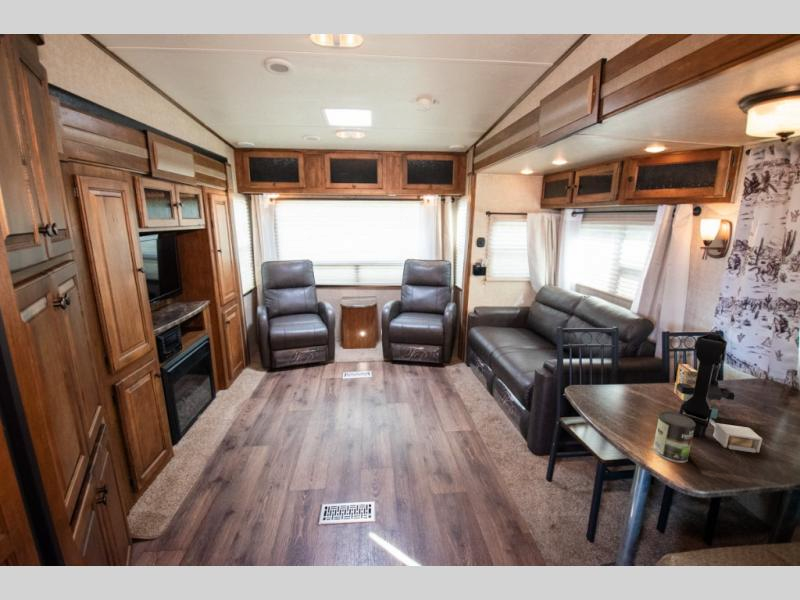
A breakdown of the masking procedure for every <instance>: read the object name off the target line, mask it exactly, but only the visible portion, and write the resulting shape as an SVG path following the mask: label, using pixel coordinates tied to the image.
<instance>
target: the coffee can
mask: <svg viewBox="0 0 800 600" xmlns="http://www.w3.org/2000/svg"><path fill="white" fill-rule="evenodd" d="M695 426H696V424H695V422H694V421H693V420H692V419H690V418H688V417H686V416H684V415H681V414H679V413H678V412H674V411H665V410H664V411H659V413H658V420H657V425H656V430H655V434H654V440H653V441H654V442H653V446H652V450H653V452H654V453H655V454H657V455H658V456H659V457H660V458H662V459H665V460H667V461H670V462H672V463H679V464H681V463H682V464H683V463H684V464H685V463H686V462H687V463H688V460H689V454H690V449H691V446H692V441H693V438H694V437H693V433H694V428H695Z"/></svg>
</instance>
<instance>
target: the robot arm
mask: <svg viewBox="0 0 800 600" xmlns="http://www.w3.org/2000/svg"><path fill="white" fill-rule="evenodd" d="M727 346H728V341H726V339H724V335H721V334H717V333H711V332H708V333H707V332H706V333H705V334H704V335H699V336H697V339H696V341H695V344H694V348H693V349H694V350H695V357H696V359H697V360H698V362H699V364H698V369H697V371H698V372H697V377H696V383H695V387H691V386H690V385H689V384H684V383H678V384H677V386H676V388H677V389H678V390H679V391H680V392H681V393H682V394H688V395H690V396H689V397H688V399H687V401H683V403H682V404H681V406H680V409H679V413H678V414H681V415H684V416H686V417H688V418H690V419H692V420H693V421H694V422H695V424H696V426H695V428H694V433H693V437H692V438H701V437H703V438H704V437H706V433H707V429H708V428H709V425H710V418H711V413H712V409H710V408H712V407H711V405H712V402H711V401H713V400H715V401H716V400H717V401H721V400H722V399H723V398H724V399H726V400H731V401H734V400H735V399H736V394H735V393H734V392H733V391H732V390H730V389H729V388H727V387H720V386H719V381H718V376H719V371H720V369H721V365H724V363H725V359H726V355H727V354H726V350H727ZM707 418H708V420H707ZM711 419H712V418H711Z"/></svg>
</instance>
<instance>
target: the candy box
mask: <svg viewBox="0 0 800 600" xmlns="http://www.w3.org/2000/svg"><path fill="white" fill-rule="evenodd" d="M697 372H698V370H696V369H694V368H693V367H692V366H691V365H689V364H685V363H679V364H678V367H677V372H676V378H675V379H676V380H675V384H674V389H673V392H674V393H675V395H676V396H677V397H678V398H679V399H681V400H682V401H683V402H686V401H687V399H688V397H689V396H690V395H688V394H682V393H681V392H680V391H679V390H678V389H677V388H676V386H677V384H678V383H684V384H689V385H690V386H691V387H695V383H696V377H697Z"/></svg>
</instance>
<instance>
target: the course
mask: <svg viewBox="0 0 800 600" xmlns="http://www.w3.org/2000/svg"><path fill="white" fill-rule="evenodd" d="M715 423H716V425H715V427H714V430H713V431H714V432H713V434H712V437H713V438H715V439H716V441H717V442H719V444H721V446H722V447H723V448H728V447H727V443H728V438H729V436H735V437H742V438H749V439H752V440H753V442H752V446H751V448H755V449H756V452H755V453H760V449H761V445H762V442H763V438H762V437H761V436H759V434H757V433H756V432H755V431H754V430H753V429H752V428H750V427H747V426H746V427H745V426H741V425H731V424H725V423H718V422H715Z"/></svg>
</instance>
